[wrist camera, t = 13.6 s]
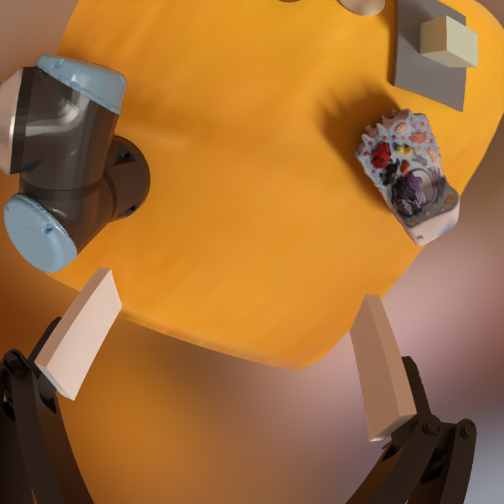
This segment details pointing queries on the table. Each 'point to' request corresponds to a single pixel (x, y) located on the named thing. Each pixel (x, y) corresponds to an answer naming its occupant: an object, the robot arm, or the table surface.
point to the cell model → (410, 174)
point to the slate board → (418, 66)
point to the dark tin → (289, 0)
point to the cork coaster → (363, 6)
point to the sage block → (449, 42)
